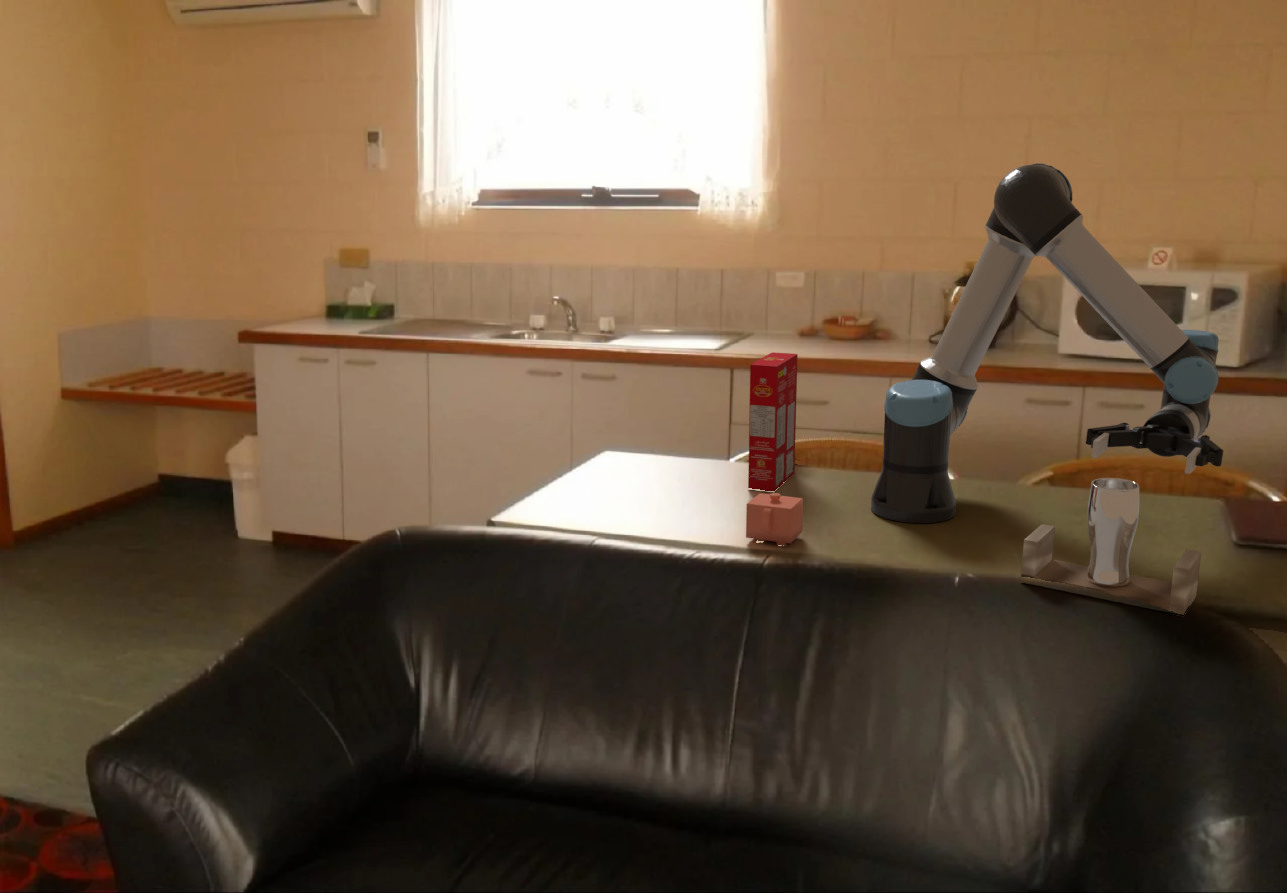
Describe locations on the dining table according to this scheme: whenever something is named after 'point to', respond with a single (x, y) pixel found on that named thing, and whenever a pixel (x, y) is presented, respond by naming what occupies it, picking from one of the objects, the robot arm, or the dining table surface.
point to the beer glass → (1111, 529)
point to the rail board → (1139, 588)
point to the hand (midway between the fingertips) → (1140, 457)
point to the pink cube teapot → (774, 518)
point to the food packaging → (772, 420)
